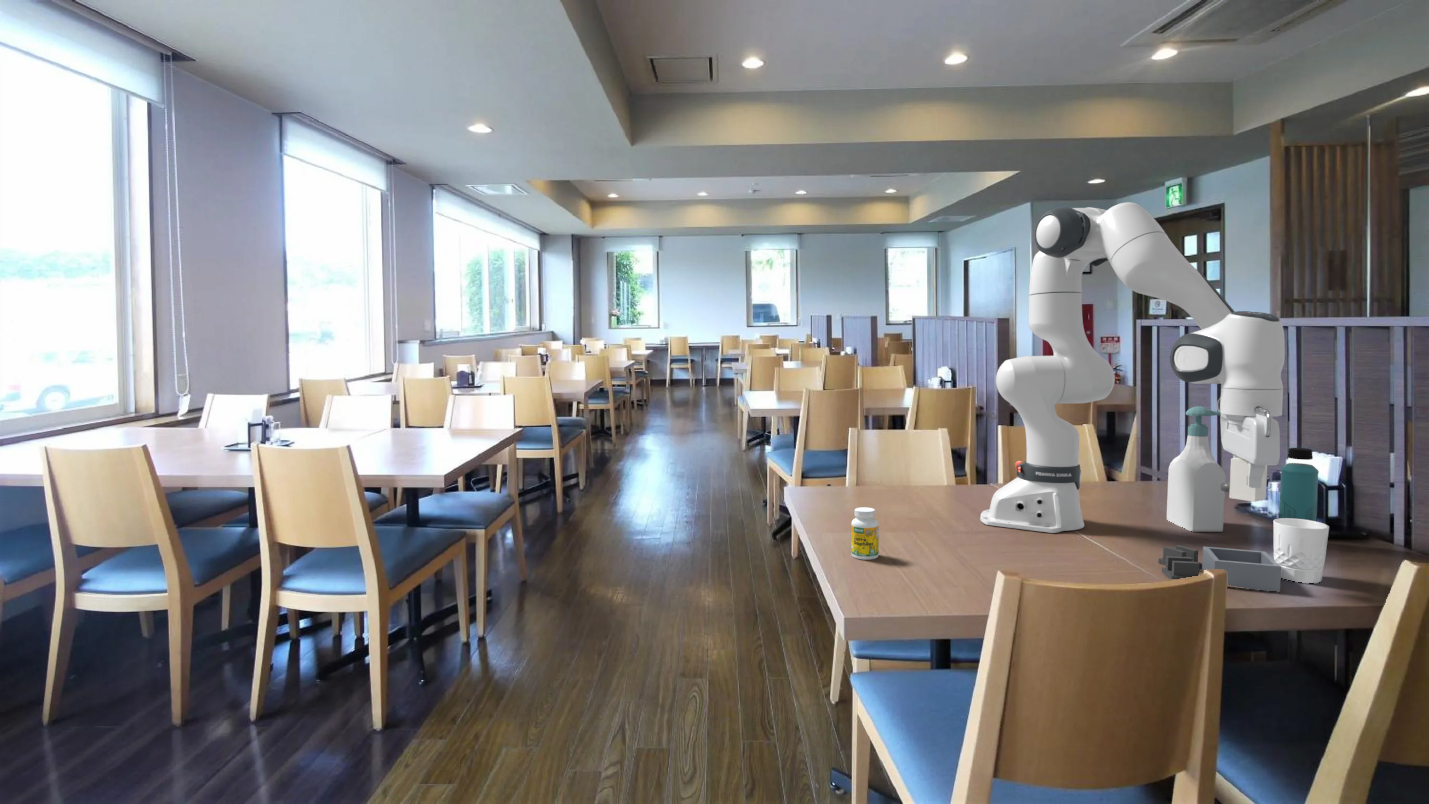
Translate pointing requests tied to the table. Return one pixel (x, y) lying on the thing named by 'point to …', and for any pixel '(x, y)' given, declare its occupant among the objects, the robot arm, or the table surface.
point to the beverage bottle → (1299, 487)
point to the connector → (1243, 482)
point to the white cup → (1300, 548)
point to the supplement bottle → (865, 534)
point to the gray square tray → (1244, 567)
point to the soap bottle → (1196, 481)
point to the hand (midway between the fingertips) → (1247, 483)
